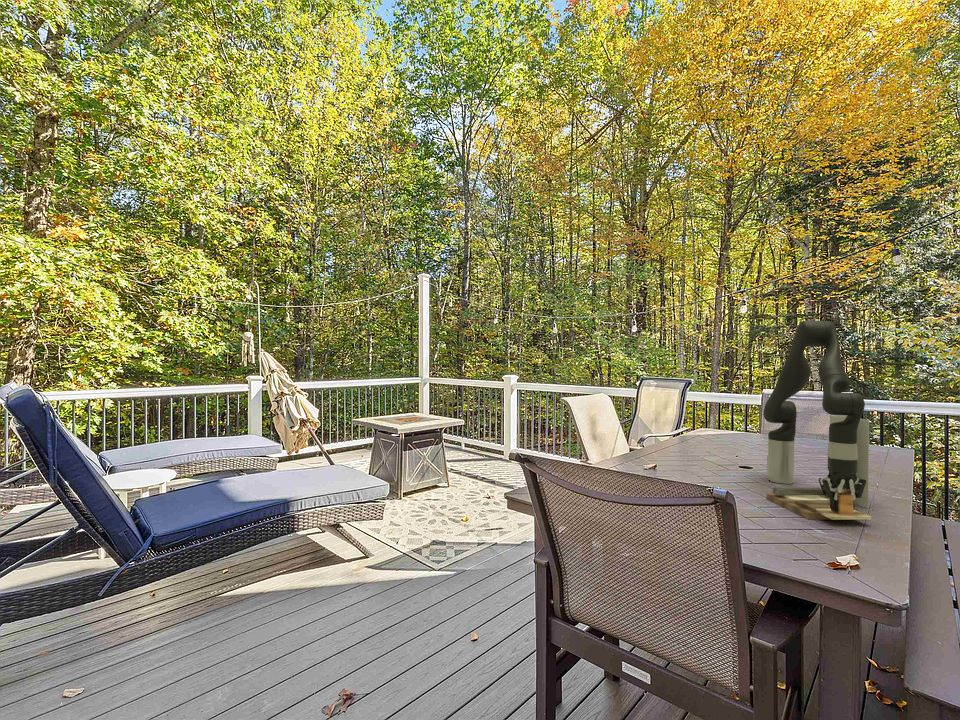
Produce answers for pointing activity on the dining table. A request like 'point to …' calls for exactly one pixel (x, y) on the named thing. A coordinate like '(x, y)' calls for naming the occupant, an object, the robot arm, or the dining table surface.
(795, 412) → the robot arm
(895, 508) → the dining table surface
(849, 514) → the wooden block on base
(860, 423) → the folded green panel
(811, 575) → the dining table surface
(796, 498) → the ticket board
